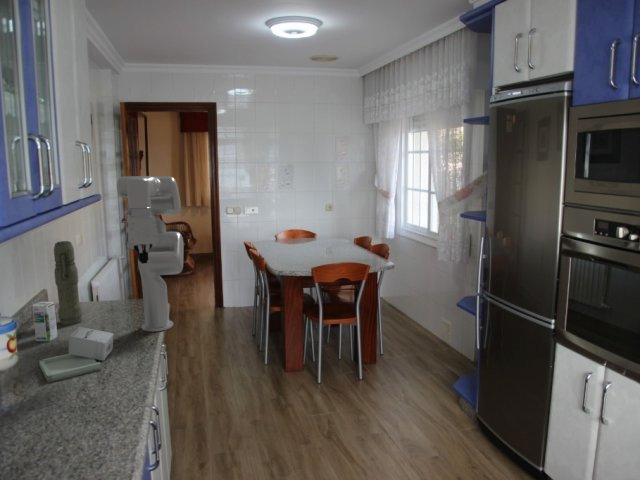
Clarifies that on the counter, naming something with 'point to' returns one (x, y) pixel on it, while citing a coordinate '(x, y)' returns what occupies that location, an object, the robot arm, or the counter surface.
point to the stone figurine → (67, 284)
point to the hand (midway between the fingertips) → (143, 262)
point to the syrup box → (45, 321)
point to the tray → (67, 366)
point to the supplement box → (90, 343)
